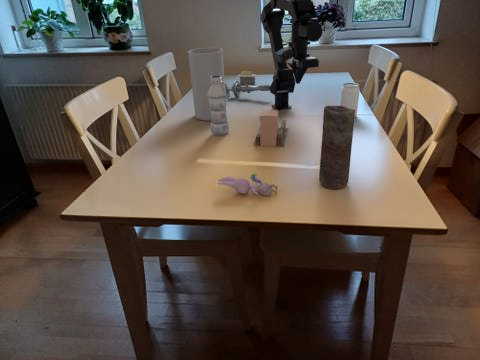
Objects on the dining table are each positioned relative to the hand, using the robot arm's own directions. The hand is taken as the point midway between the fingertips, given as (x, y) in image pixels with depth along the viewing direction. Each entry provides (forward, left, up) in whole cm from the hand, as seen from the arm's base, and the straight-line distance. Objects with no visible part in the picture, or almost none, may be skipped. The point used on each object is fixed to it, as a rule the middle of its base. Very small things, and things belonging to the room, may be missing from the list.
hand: (297, 83), depth 129 cm
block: (+20, -20, -12) cm, 31 cm away
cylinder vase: (-16, -30, -13) cm, 37 cm away
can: (+7, +18, -13) cm, 23 cm away
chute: (+15, -17, -13) cm, 26 cm away
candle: (+49, -14, -13) cm, 53 cm away
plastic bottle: (+5, -32, -13) cm, 35 cm away
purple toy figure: (+45, -36, -13) cm, 59 cm away
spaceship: (-36, -12, -13) cm, 40 cm away
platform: (-58, +1, -14) cm, 60 cm away
